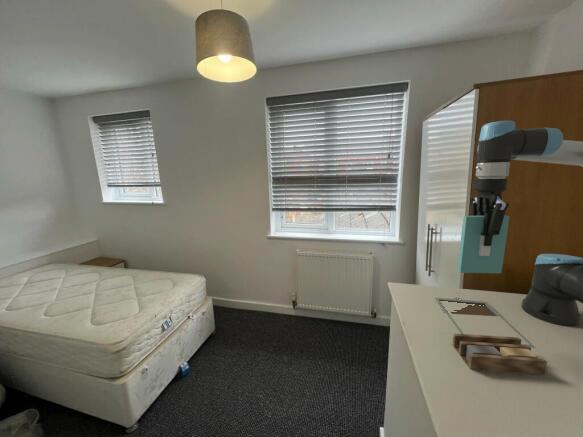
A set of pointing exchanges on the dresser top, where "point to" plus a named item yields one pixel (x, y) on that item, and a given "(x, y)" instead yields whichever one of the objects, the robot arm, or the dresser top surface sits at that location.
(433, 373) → the dresser top surface
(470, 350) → the offcut charcoal
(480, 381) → the dresser top surface
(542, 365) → the rack
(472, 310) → the framed cork board
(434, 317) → the dresser top surface
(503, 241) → the teal rectangular slab
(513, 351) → the offcut oak
